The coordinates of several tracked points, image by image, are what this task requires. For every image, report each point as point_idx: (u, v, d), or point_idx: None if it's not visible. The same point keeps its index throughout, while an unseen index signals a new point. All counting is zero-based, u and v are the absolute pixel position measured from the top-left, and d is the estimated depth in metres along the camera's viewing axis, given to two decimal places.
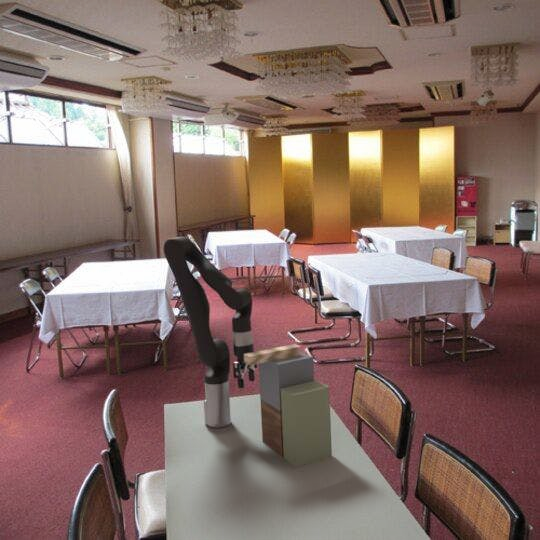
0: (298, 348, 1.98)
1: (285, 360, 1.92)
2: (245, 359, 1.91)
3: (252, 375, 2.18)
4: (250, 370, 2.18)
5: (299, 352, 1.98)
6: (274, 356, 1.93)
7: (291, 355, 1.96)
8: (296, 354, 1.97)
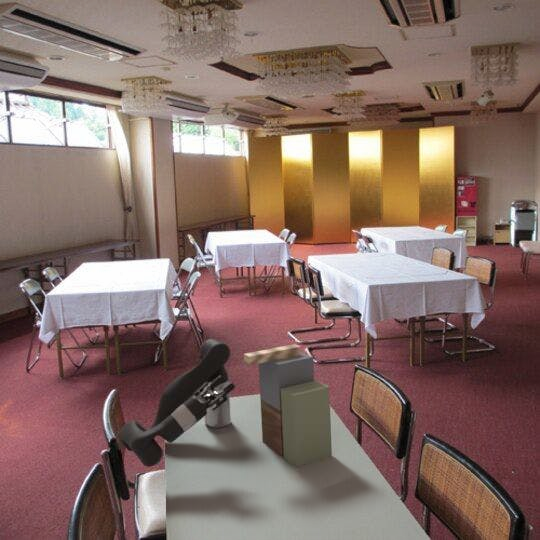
0: (298, 348, 1.98)
1: (285, 360, 1.92)
2: (245, 359, 1.91)
3: (216, 381, 1.90)
4: (213, 386, 1.90)
5: (299, 352, 1.98)
6: (274, 356, 1.93)
7: (291, 355, 1.96)
8: (296, 354, 1.97)
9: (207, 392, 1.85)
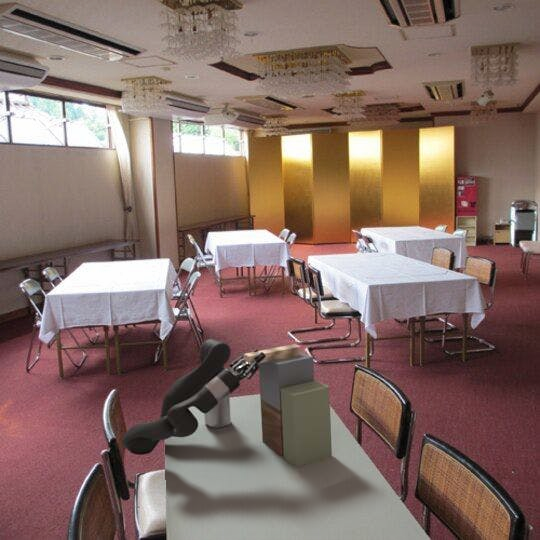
0: (298, 348, 1.98)
1: (285, 360, 1.92)
2: (245, 359, 1.91)
3: None
4: None
5: (299, 352, 1.98)
6: (274, 356, 1.93)
7: (291, 355, 1.96)
8: (296, 354, 1.97)
9: (239, 366, 1.90)
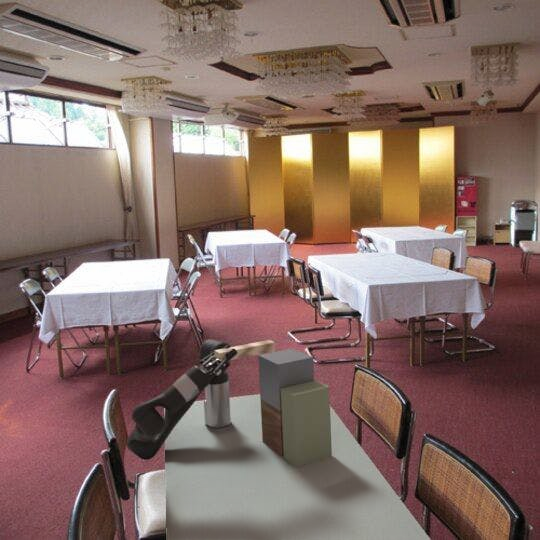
0: (272, 344, 1.88)
1: (285, 360, 1.92)
2: (216, 356, 1.82)
3: None
4: None
5: (273, 348, 1.89)
6: (246, 353, 1.84)
7: (265, 351, 1.87)
8: (270, 350, 1.88)
9: (209, 363, 1.80)
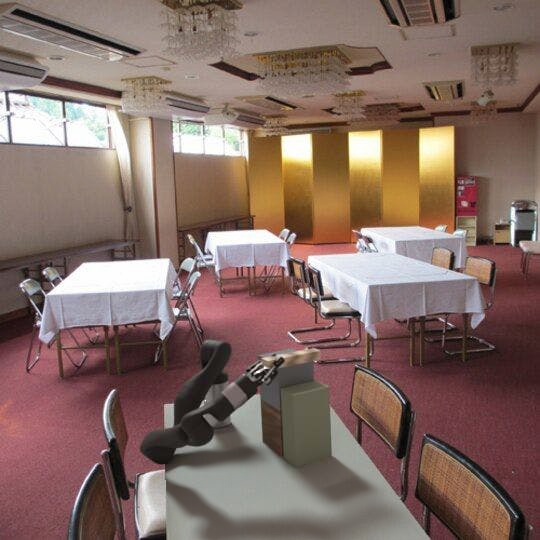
0: (318, 352, 1.87)
1: None
2: (263, 364, 1.80)
3: None
4: None
5: (319, 356, 1.87)
6: (293, 361, 1.82)
7: (311, 360, 1.86)
8: (316, 359, 1.87)
9: (257, 371, 1.79)
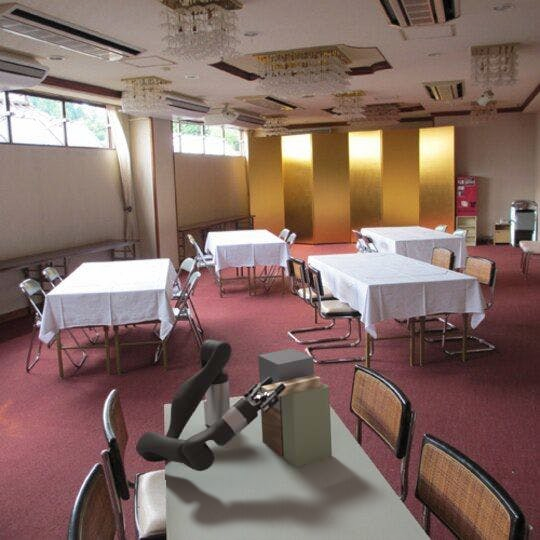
0: (318, 379, 1.88)
1: (285, 360, 1.92)
2: (263, 392, 1.82)
3: (266, 382, 1.85)
4: None
5: (319, 383, 1.88)
6: (293, 389, 1.84)
7: (311, 387, 1.87)
8: (316, 386, 1.88)
9: (257, 394, 1.81)
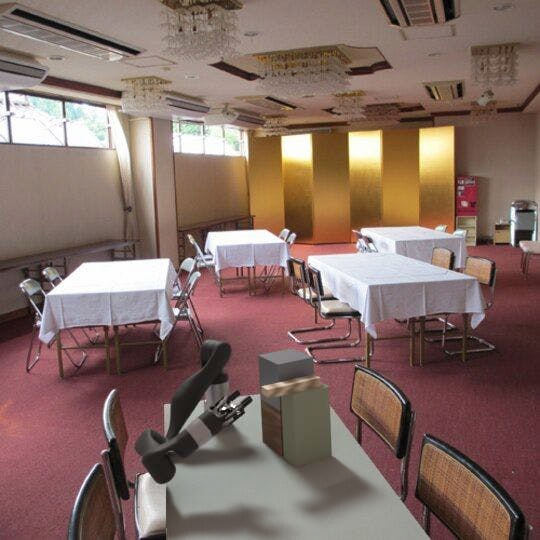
0: (318, 379, 1.88)
1: (285, 360, 1.92)
2: (263, 392, 1.82)
3: (232, 394, 1.80)
4: (229, 400, 1.80)
5: (319, 383, 1.88)
6: (293, 389, 1.84)
7: (311, 387, 1.87)
8: (316, 386, 1.88)
9: (223, 406, 1.76)
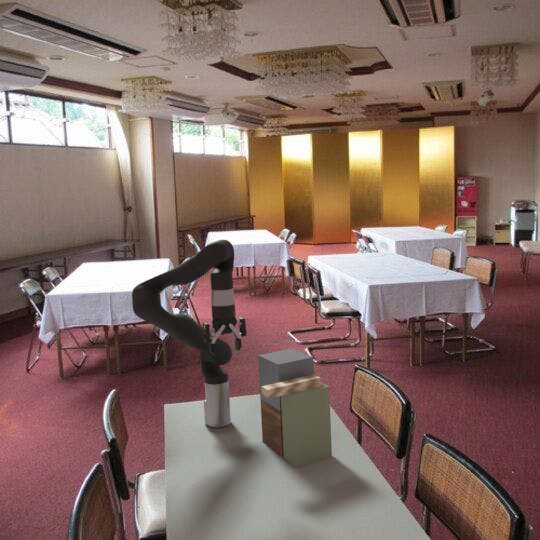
0: (318, 379, 1.88)
1: (285, 360, 1.92)
2: (263, 392, 1.82)
3: None
4: None
5: (319, 383, 1.88)
6: (293, 389, 1.84)
7: (311, 387, 1.87)
8: (316, 386, 1.88)
9: None
